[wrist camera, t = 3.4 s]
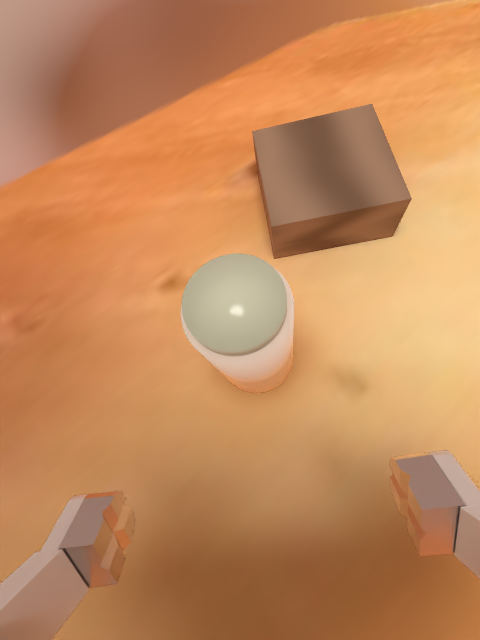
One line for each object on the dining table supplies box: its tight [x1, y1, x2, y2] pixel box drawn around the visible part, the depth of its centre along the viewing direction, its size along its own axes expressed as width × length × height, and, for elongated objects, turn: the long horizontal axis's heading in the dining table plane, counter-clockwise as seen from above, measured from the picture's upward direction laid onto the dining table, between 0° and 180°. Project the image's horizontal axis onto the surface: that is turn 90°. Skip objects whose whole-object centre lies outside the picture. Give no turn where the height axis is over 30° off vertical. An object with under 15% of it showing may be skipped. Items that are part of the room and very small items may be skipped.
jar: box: [181, 254, 294, 393], centre depth 18 cm, size 5×5×10 cm
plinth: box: [252, 104, 411, 259], centre depth 24 cm, size 9×9×4 cm
